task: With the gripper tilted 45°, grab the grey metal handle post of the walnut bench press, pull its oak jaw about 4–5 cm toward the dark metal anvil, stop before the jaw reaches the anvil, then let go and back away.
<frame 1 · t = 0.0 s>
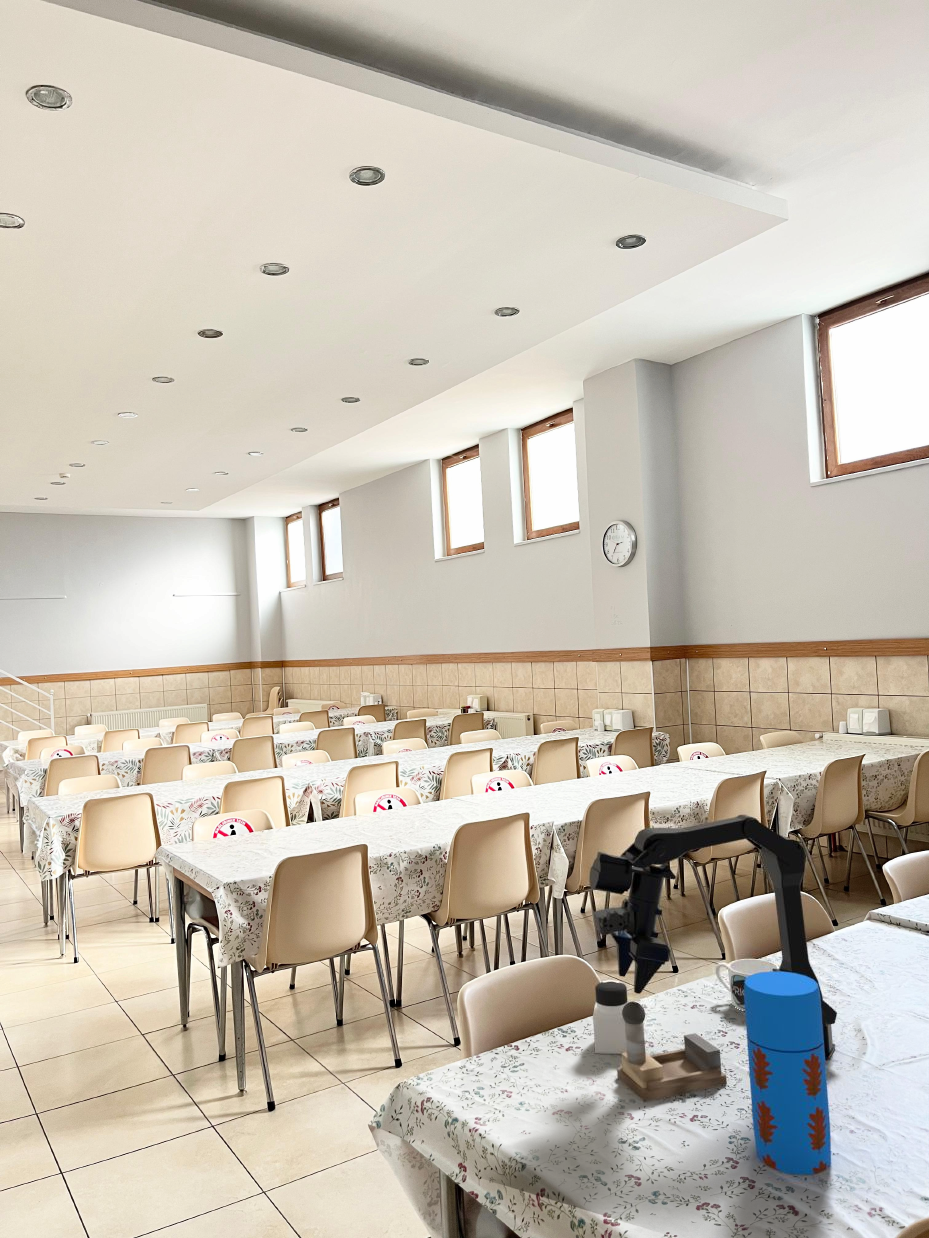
hand: (629, 984, 165), 15 cm above the table, tool pointing down, fingers open, 9 cm apart
mug: (749, 1005, 192), on the table
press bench: (666, 1081, 159), on the table
press handle: (637, 1039, 158), point 8 cm above the table, slide at 0.0 cm
medicine bottle: (614, 1047, 175), on the table
thermos: (793, 1156, 134), on the table
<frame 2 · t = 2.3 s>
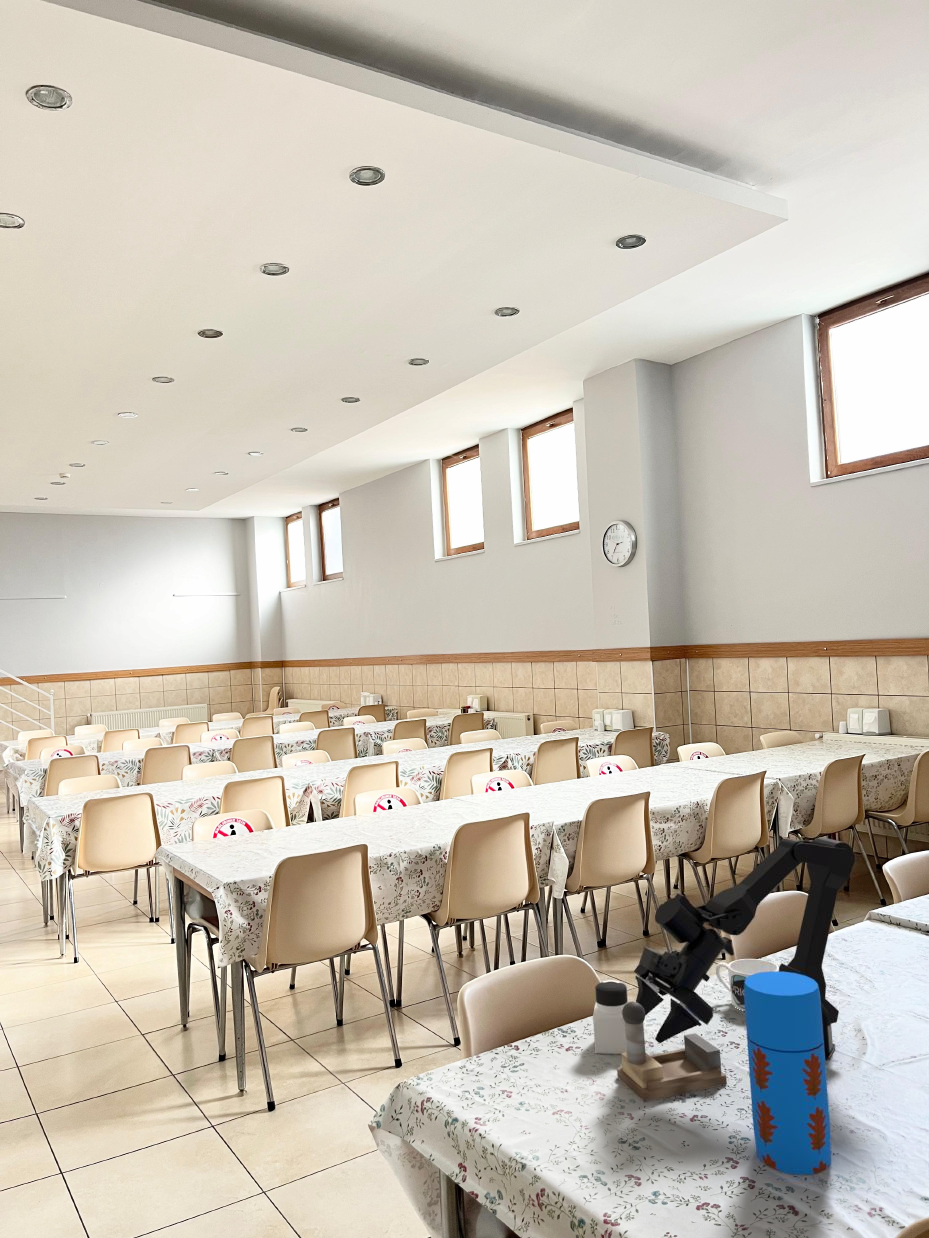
hand: (644, 1031, 158), 9 cm above the table, tool tilted 45°, fingers open, 9 cm apart
nothing on the table moved.
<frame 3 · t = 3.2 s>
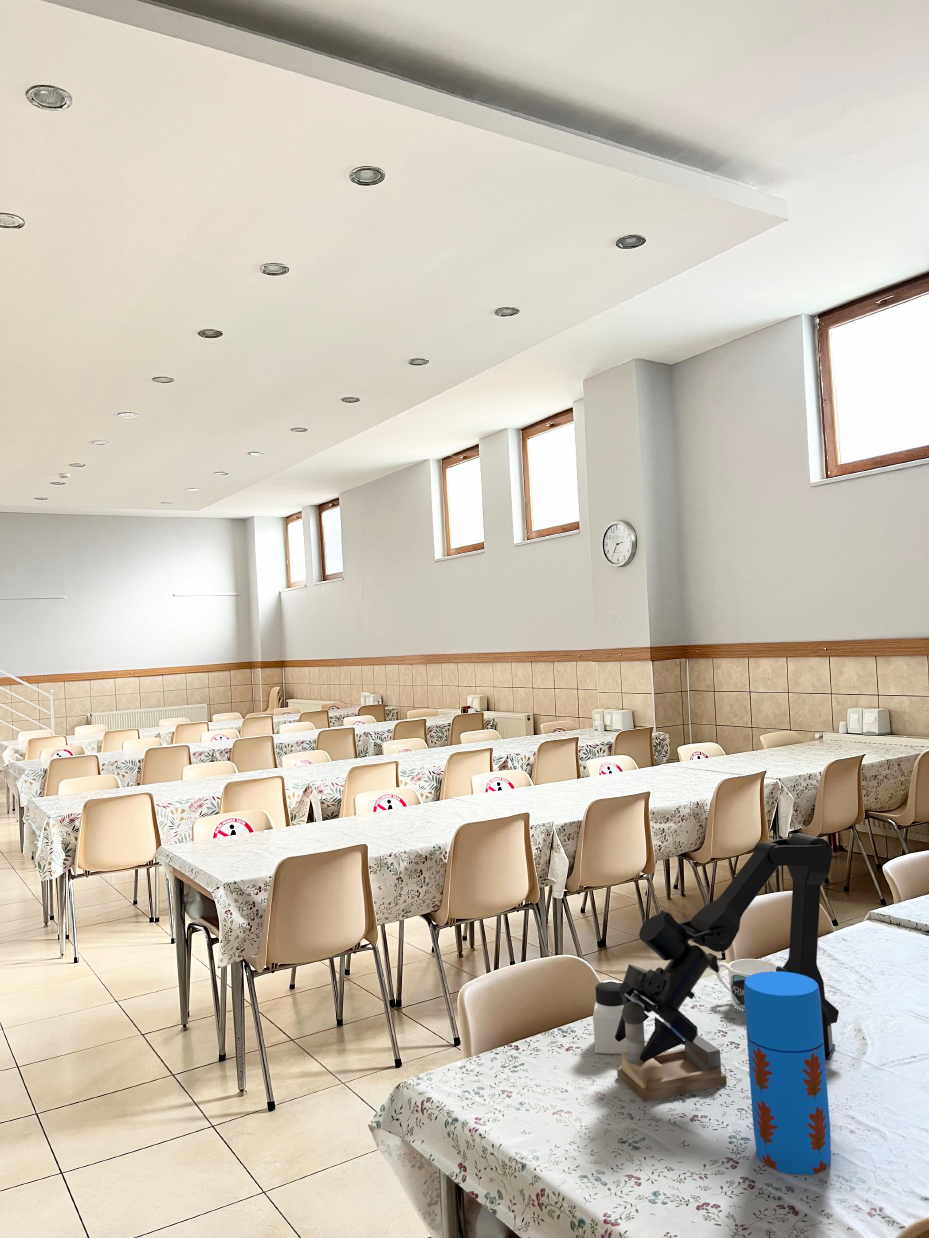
hand: (628, 1049, 157), 7 cm above the table, tool tilted 45°, fingers open, 9 cm apart
nothing on the table moved.
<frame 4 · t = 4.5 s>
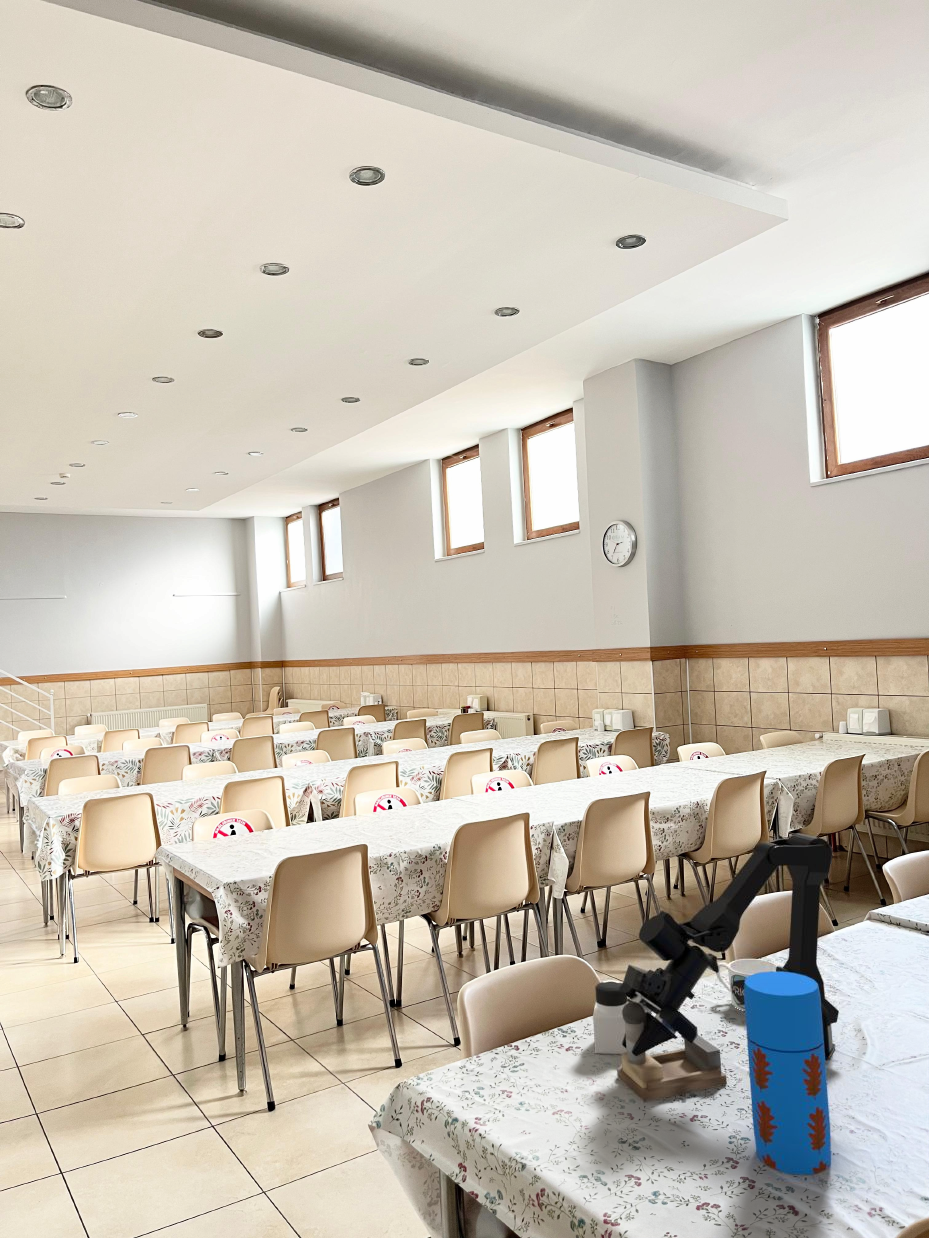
hand: (628, 1050, 157), 7 cm above the table, tool tilted 45°, fingers closed on press handle, 3 cm apart
press handle: (637, 1039, 158), point 8 cm above the table, slide at 0.0 cm, touching gripper
everything else where it was.
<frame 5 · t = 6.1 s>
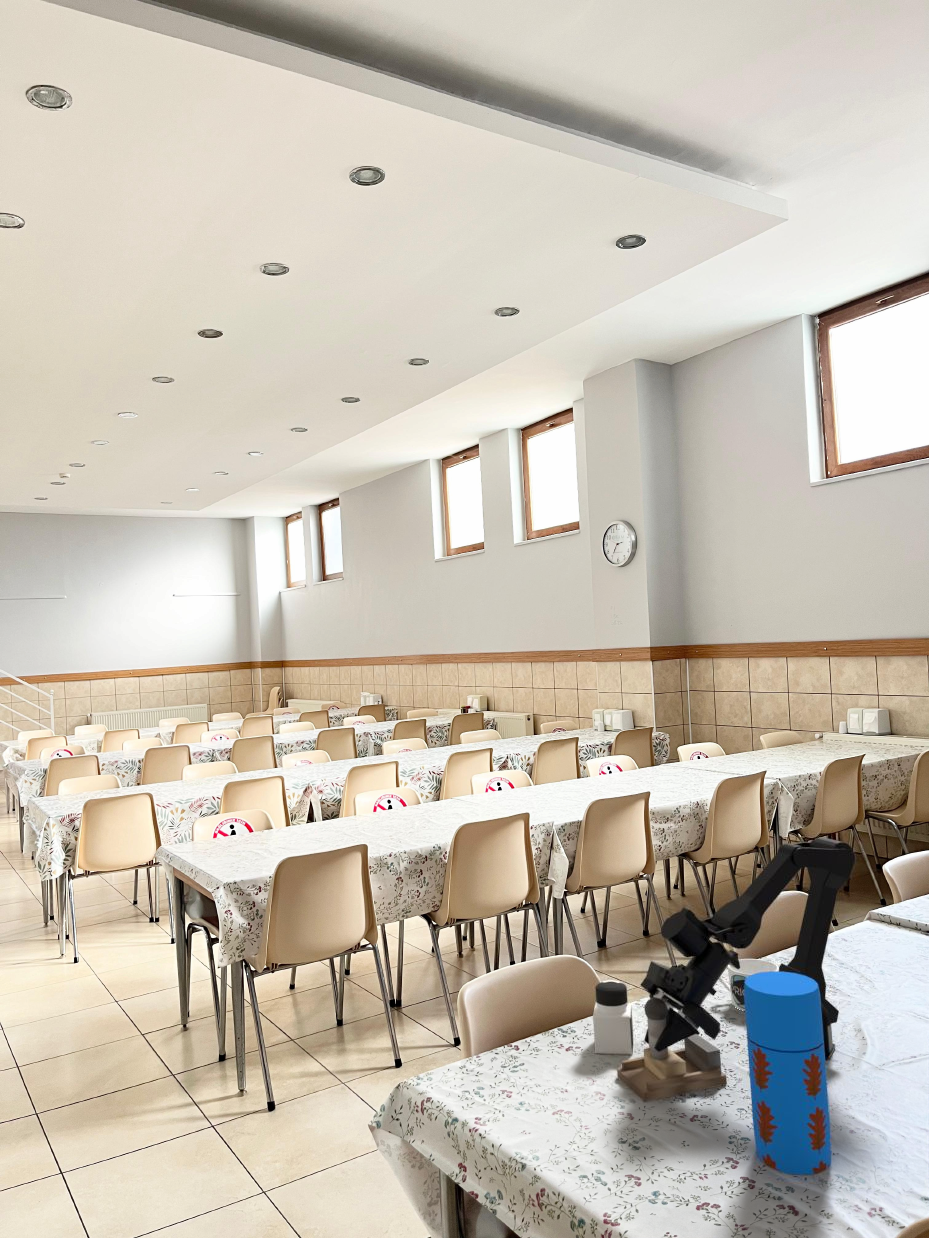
hand: (651, 1045, 159), 7 cm above the table, tool tilted 45°, fingers closed on press handle, 3 cm apart
press handle: (660, 1035, 159), point 8 cm above the table, slide at 4.4 cm, touching gripper
everything else where it was.
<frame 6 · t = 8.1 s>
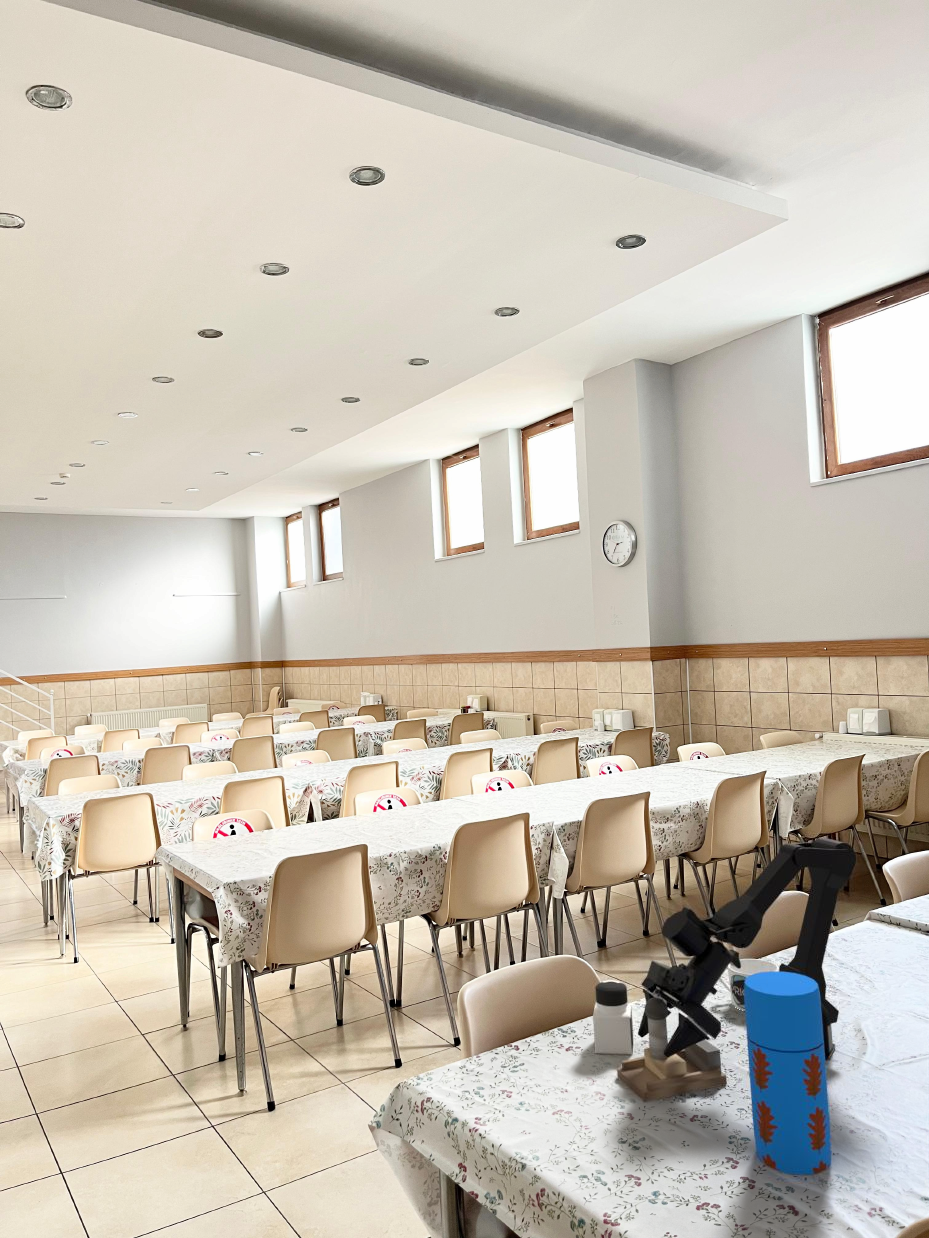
hand: (652, 1045, 159), 7 cm above the table, tool tilted 45°, fingers open, 9 cm apart
press handle: (660, 1035, 159), point 8 cm above the table, slide at 4.5 cm
everything else where it was.
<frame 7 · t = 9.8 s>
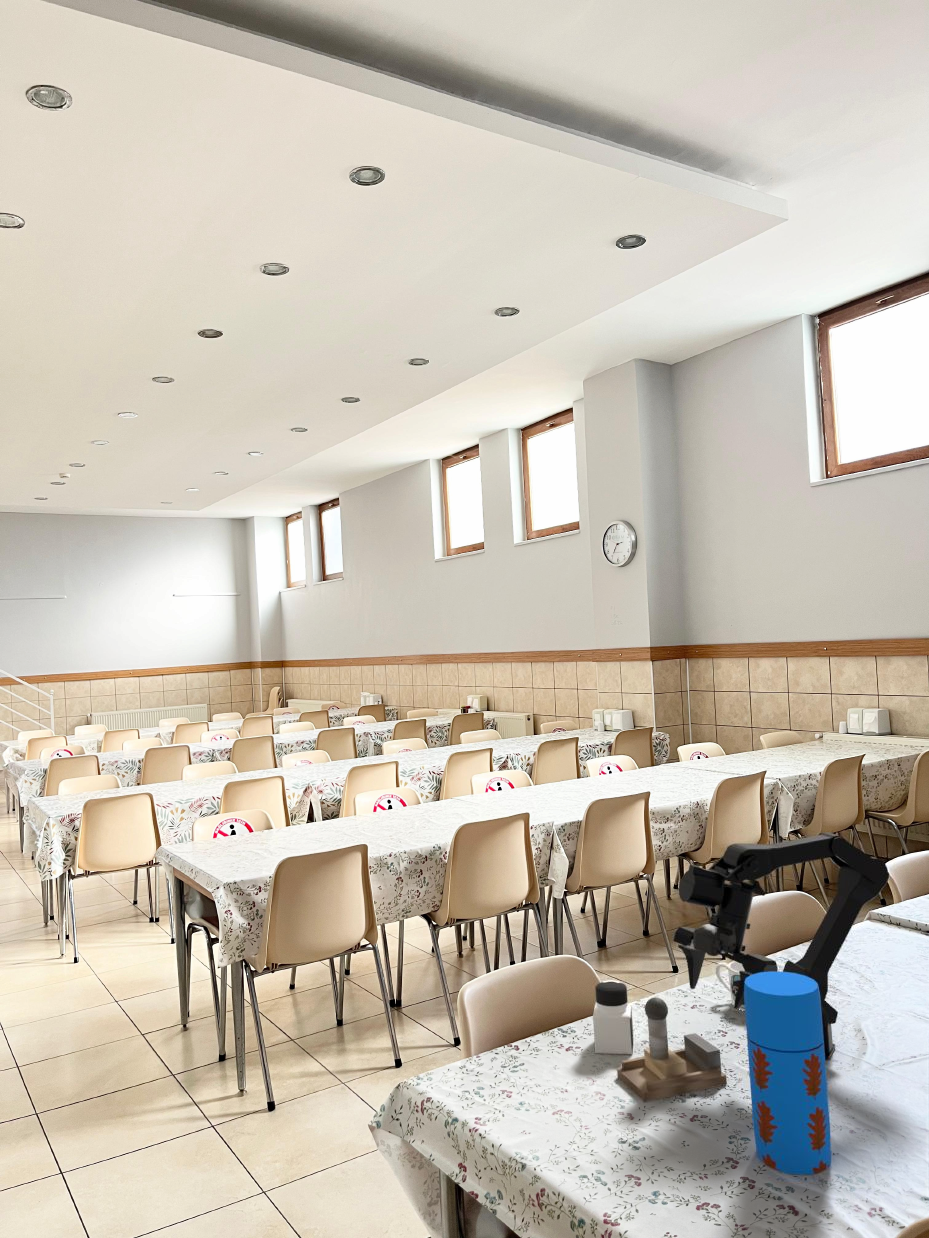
hand: (713, 998, 165), 12 cm above the table, tool tilted 20°, fingers open, 9 cm apart
nothing on the table moved.
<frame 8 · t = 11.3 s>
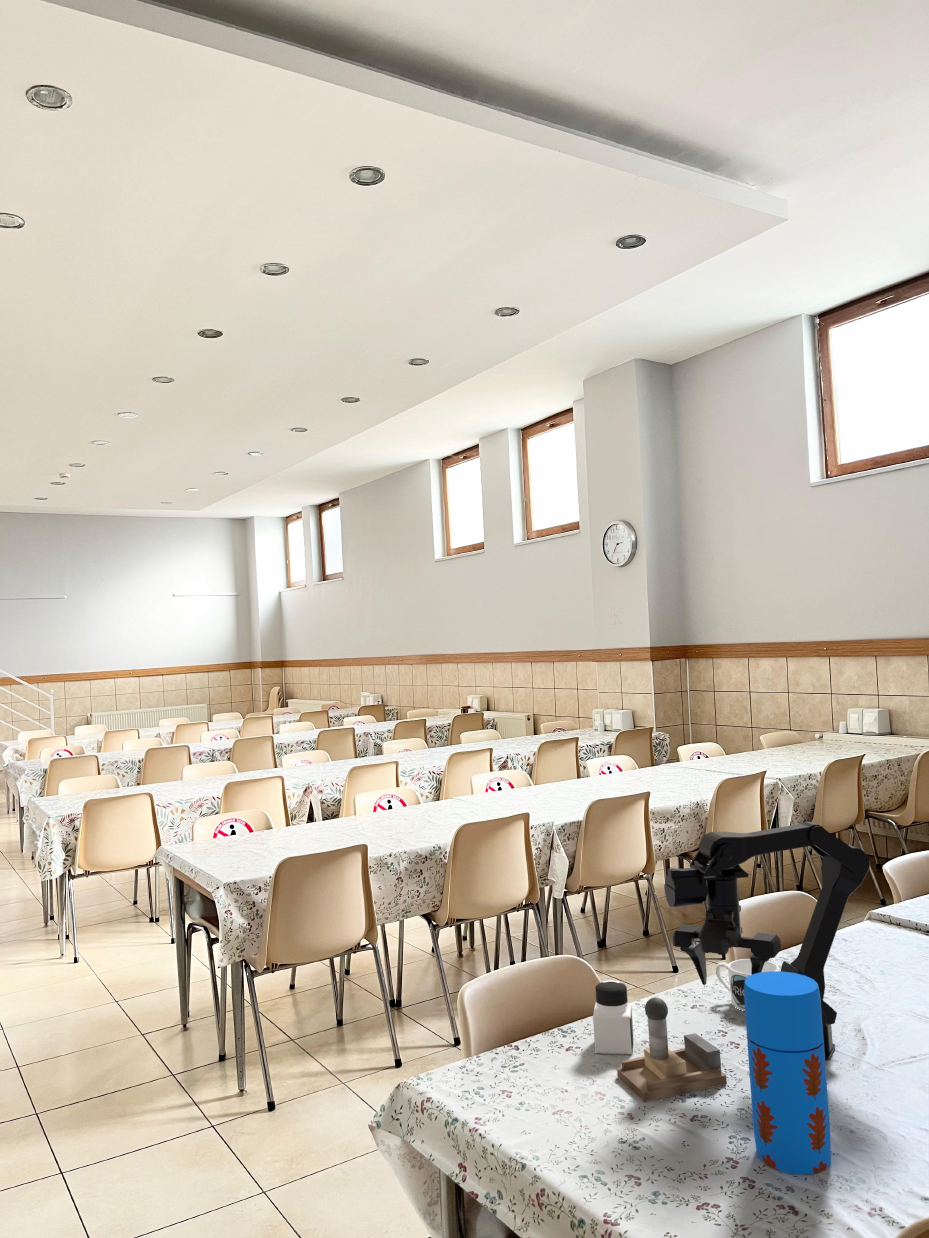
hand: (728, 987, 167), 13 cm above the table, tool pointing down, fingers open, 9 cm apart
nothing on the table moved.
at the end: press handle slide at 4.5 cm; the gripper is holding nothing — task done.
